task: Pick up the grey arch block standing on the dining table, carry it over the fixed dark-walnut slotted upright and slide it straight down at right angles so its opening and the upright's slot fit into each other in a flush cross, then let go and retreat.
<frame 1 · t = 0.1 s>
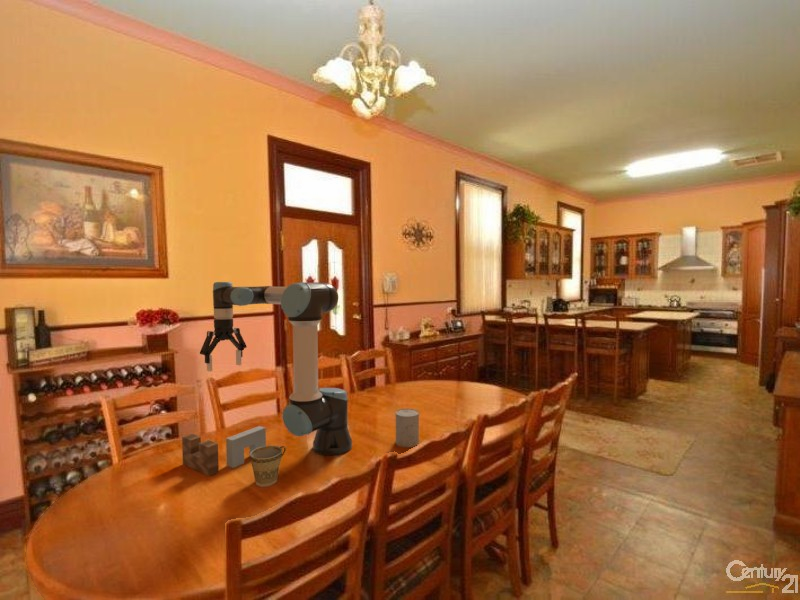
hand: (224, 367, 171), 28 cm above the table, fingers open, 13 cm apart
beer can: (407, 442, 162), on the table
ceramic cup: (270, 480, 132), on the table
walnut upright: (200, 468, 139), on the table
grey arch block: (247, 459, 146), on the table
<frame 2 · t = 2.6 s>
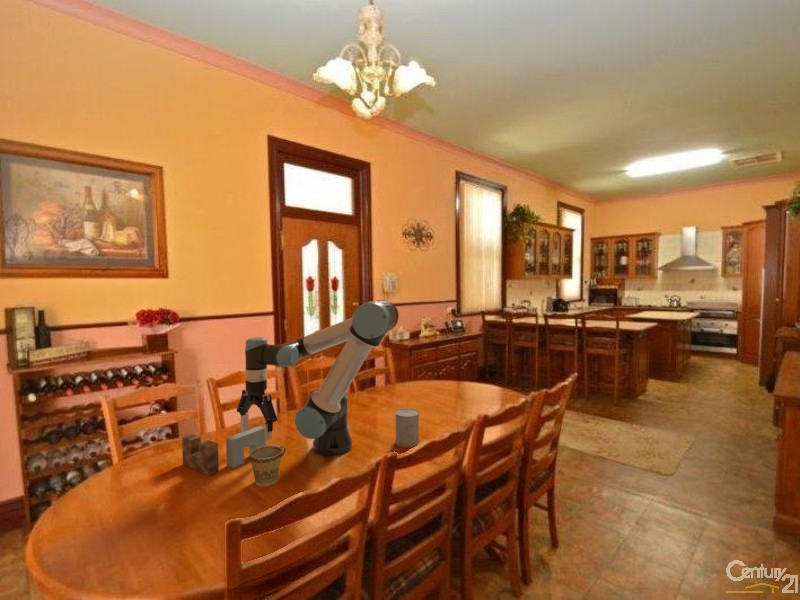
hand: (256, 435, 150), 7 cm above the table, fingers open, 13 cm apart
nothing on the table moved.
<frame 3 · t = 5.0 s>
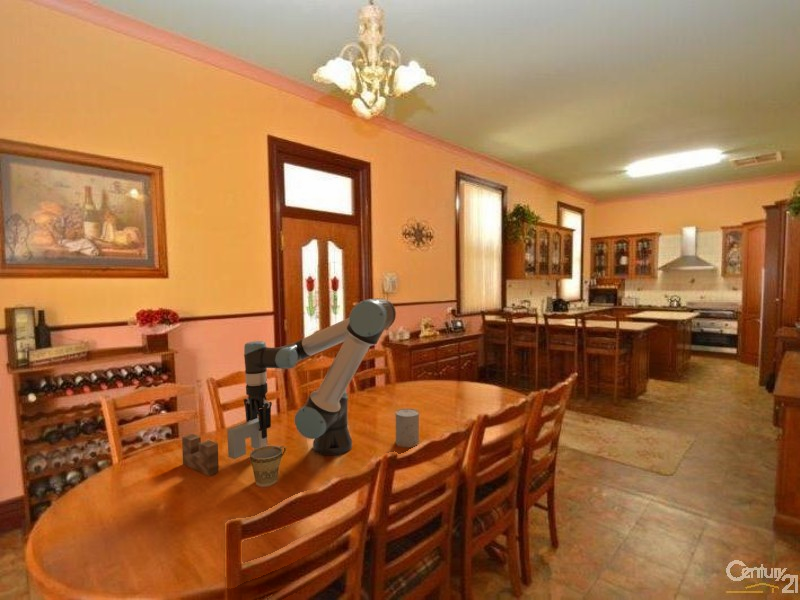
hand: (259, 444, 150), 4 cm above the table, fingers closed on grey arch block, 3 cm apart
grey arch block: (248, 450, 146), point 3 cm above the table, touching gripper
everything else where it was.
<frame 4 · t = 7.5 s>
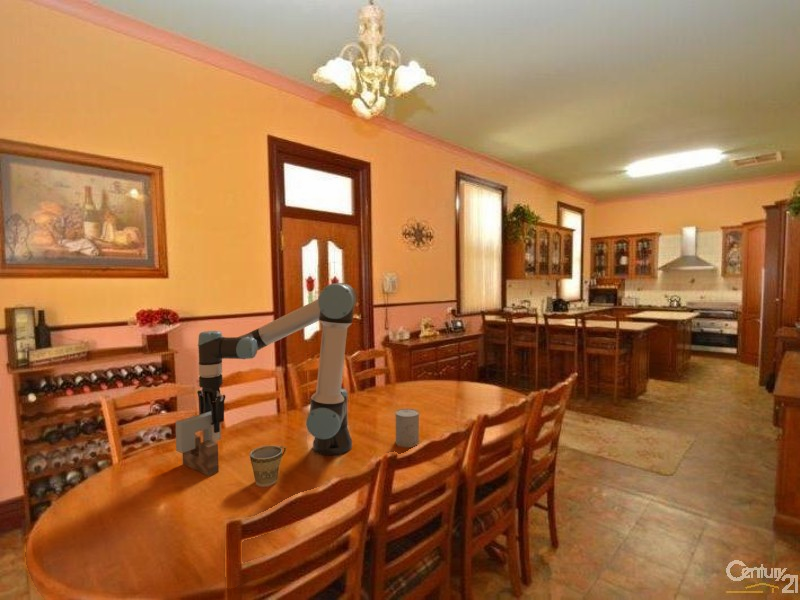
hand: (211, 439, 143), 9 cm above the table, fingers closed on grey arch block, 3 cm apart
grey arch block: (199, 444, 139), point 8 cm above the table, touching gripper
everything else where it was.
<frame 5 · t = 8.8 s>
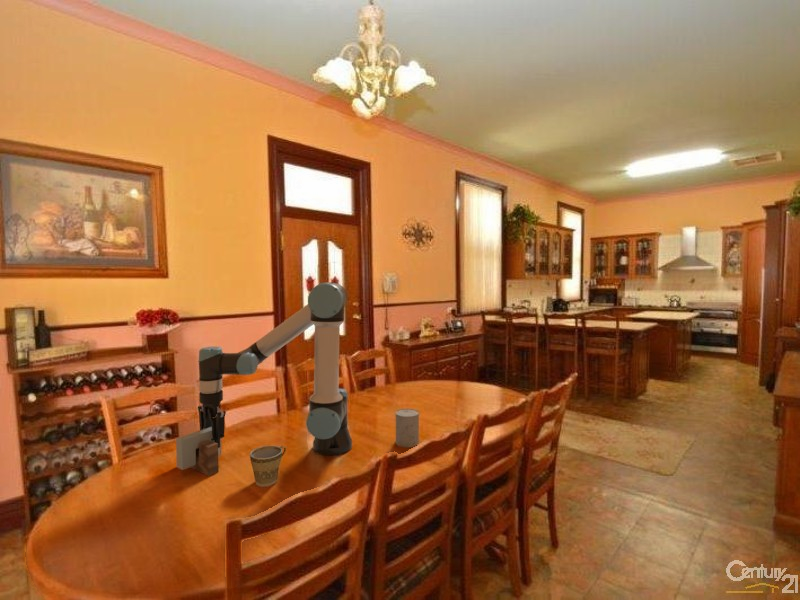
hand: (212, 454, 143), 3 cm above the table, fingers closed on grey arch block, 3 cm apart
grey arch block: (199, 460, 139), point 3 cm above the table, touching gripper
everything else where it was.
when the fingers open (1 cm above the table, at t = 9.9 s): grey arch block stays where it is, on the table.
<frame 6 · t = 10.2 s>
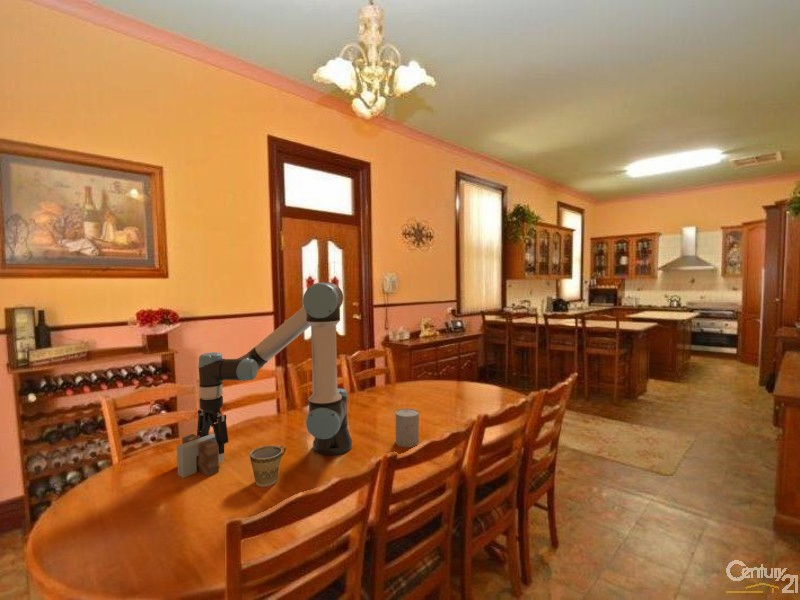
hand: (212, 458, 143), 1 cm above the table, fingers open, 8 cm apart
grey arch block: (200, 468, 140), on the table
everything else where it was.
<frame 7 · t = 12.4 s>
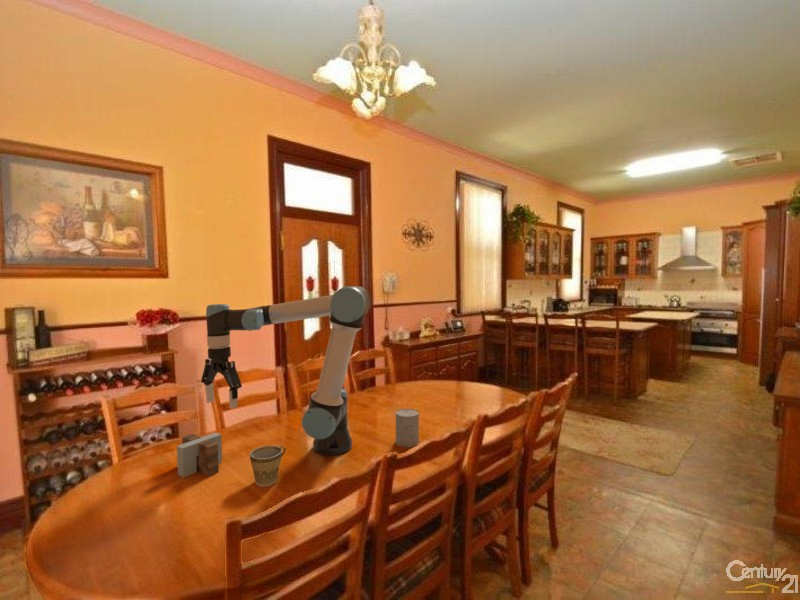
hand: (221, 404, 146), 20 cm above the table, fingers open, 13 cm apart
nothing on the table moved.
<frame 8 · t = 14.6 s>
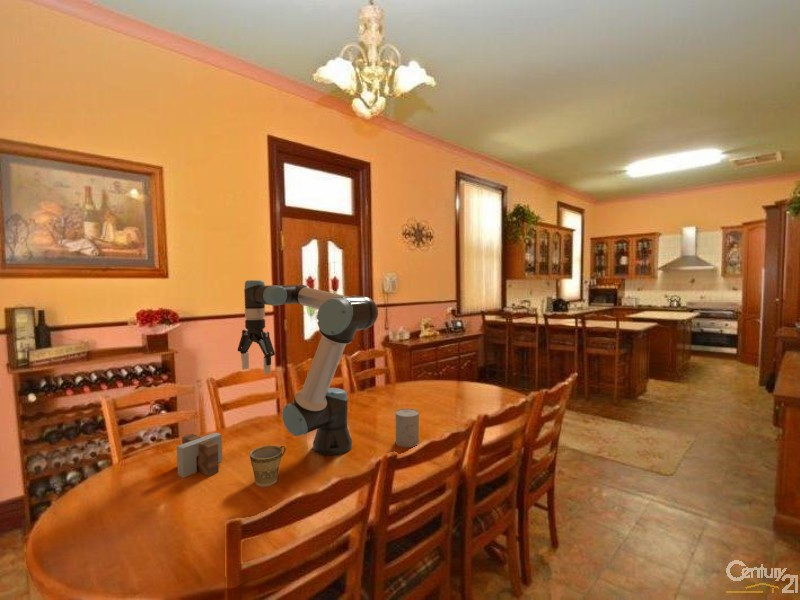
hand: (256, 371, 161), 29 cm above the table, fingers open, 13 cm apart
nothing on the table moved.
at the end: grey arch block 0.1 cm off-centre on the walnut upright, point 0.0 cm above the walnut upright's base; grey arch block tilted 0°; the gripper is holding nothing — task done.
